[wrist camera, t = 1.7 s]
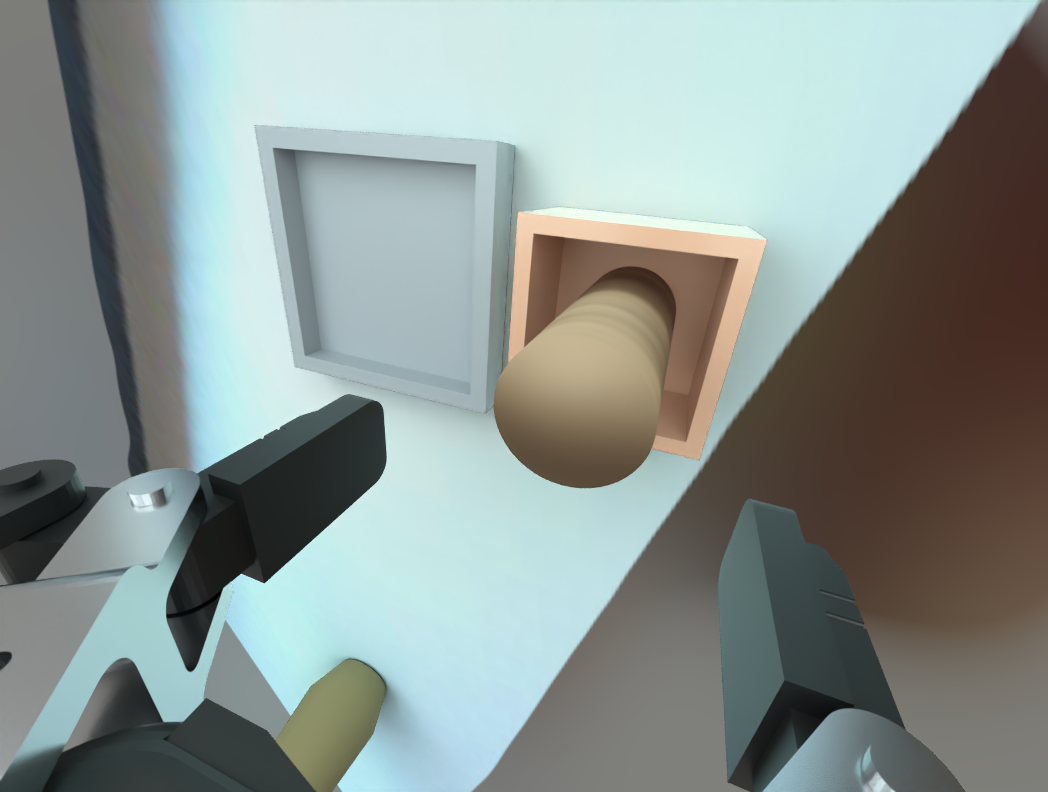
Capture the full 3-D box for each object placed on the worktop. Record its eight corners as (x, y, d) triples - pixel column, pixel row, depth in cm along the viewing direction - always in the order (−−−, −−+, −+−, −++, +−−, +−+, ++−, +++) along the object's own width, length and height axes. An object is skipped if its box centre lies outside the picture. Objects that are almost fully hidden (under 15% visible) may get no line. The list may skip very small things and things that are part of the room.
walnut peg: (591, 260, 22) (497, 323, 12) (686, 273, 21) (675, 356, 10) (579, 346, 24) (490, 465, 14) (664, 362, 23) (638, 506, 12)
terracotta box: (558, 206, 22) (517, 212, 17) (749, 226, 20) (767, 240, 15) (542, 369, 26) (504, 412, 21) (698, 401, 24) (699, 460, 19)
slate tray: (288, 129, 26) (254, 124, 24) (515, 145, 22) (497, 141, 20) (319, 355, 32) (294, 366, 30) (500, 398, 28) (485, 413, 26)
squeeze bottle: (394, 669, 46) (243, 910, 31) (397, 712, 50) (262, 947, 34) (330, 639, 48) (158, 851, 33) (337, 683, 52) (185, 892, 36)
